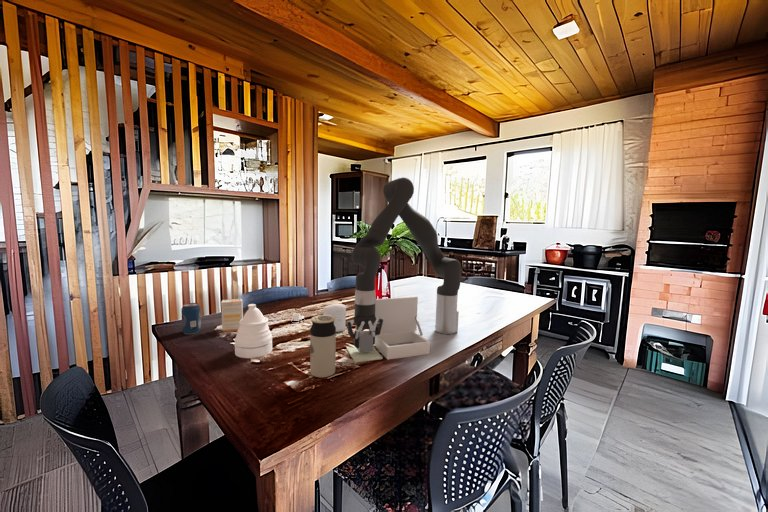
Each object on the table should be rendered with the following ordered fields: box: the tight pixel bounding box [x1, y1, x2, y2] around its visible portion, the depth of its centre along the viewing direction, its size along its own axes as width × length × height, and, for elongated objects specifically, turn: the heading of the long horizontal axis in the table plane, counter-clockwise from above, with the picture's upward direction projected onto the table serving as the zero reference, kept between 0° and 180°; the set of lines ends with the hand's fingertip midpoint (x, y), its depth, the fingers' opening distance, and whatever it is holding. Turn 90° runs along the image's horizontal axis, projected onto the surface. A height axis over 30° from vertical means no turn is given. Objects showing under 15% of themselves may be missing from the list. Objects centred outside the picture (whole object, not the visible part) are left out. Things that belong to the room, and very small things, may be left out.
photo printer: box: [322, 303, 347, 333], centre depth 145 cm, size 10×4×12 cm, turn 123°
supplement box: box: [220, 298, 244, 332], centre depth 144 cm, size 8×5×13 cm, turn 108°
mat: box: [346, 346, 383, 363], centre depth 122 cm, size 10×12×1 cm
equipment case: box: [372, 296, 431, 360], centre depth 126 cm, size 19×14×18 cm
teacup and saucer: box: [291, 312, 305, 322], centre depth 159 cm, size 9×8×4 cm
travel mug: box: [309, 314, 337, 378], centre depth 105 cm, size 8×8×18 cm
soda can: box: [181, 302, 202, 335], centre depth 140 cm, size 7×7×12 cm
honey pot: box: [234, 303, 273, 359], centre depth 121 cm, size 13×13×18 cm
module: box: [357, 330, 374, 352], centre depth 121 cm, size 5×5×6 cm
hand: (364, 346), depth 121 cm, fingers closed on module, 5 cm apart
